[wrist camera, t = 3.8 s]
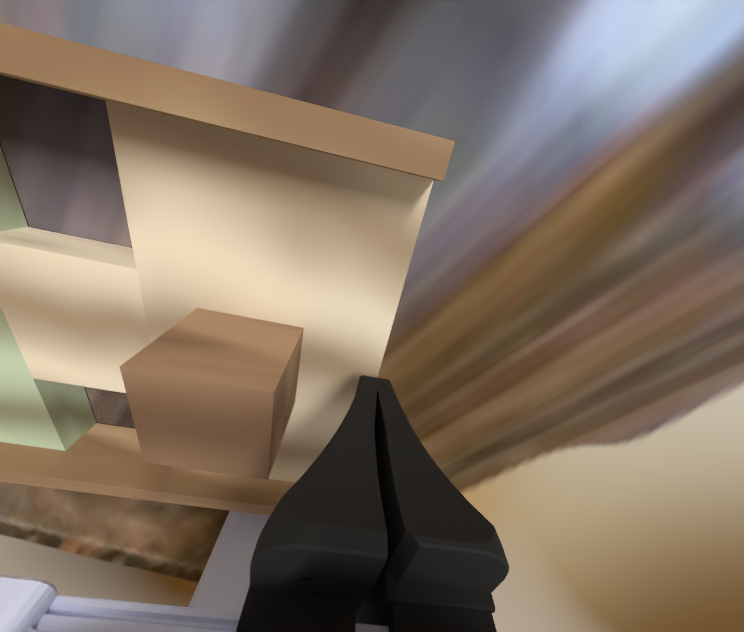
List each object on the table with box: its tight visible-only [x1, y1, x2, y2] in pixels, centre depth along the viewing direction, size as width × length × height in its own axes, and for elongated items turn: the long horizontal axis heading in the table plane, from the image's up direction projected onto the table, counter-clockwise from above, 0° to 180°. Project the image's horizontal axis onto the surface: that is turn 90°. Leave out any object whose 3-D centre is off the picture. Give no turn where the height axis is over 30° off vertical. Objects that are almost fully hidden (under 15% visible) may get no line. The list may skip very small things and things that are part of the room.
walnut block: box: [120, 308, 304, 480], centre depth 11 cm, size 4×4×4 cm
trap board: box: [0, 23, 455, 516], centre depth 13 cm, size 20×24×4 cm
